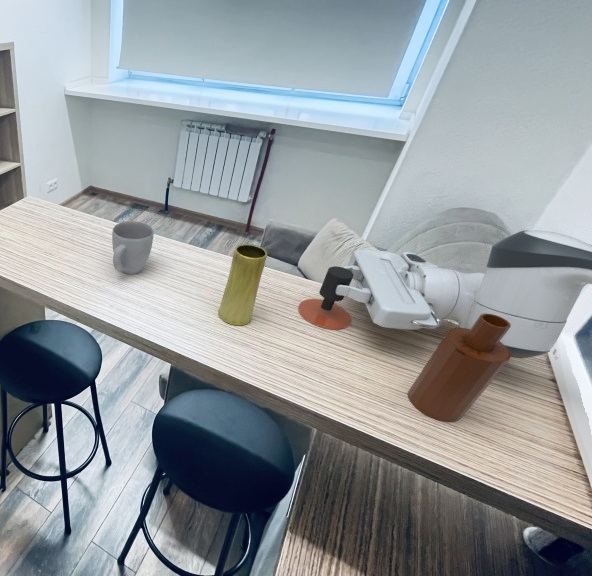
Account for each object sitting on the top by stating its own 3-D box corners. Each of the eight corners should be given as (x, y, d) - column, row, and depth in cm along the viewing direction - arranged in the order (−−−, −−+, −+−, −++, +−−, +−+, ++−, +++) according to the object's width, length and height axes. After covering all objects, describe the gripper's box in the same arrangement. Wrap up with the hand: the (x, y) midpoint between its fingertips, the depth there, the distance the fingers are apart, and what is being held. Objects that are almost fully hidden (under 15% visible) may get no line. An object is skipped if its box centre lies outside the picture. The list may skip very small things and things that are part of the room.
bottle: (472, 414, 59) (543, 330, 50) (441, 427, 57) (508, 343, 48) (427, 382, 64) (483, 300, 55) (397, 394, 62) (450, 311, 53)
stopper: (343, 311, 76) (359, 275, 71) (326, 316, 75) (341, 280, 70) (325, 299, 79) (339, 264, 75) (309, 304, 78) (323, 268, 73)
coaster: (362, 322, 76) (362, 321, 75) (325, 334, 73) (325, 333, 73) (322, 296, 83) (323, 294, 82) (287, 306, 80) (288, 304, 80)
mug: (122, 254, 98) (124, 217, 92) (156, 264, 94) (160, 226, 88) (96, 278, 90) (97, 239, 84) (132, 290, 86) (135, 250, 80)
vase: (212, 308, 80) (225, 244, 72) (240, 303, 81) (256, 240, 73) (228, 328, 75) (245, 262, 67) (257, 322, 76) (278, 257, 68)
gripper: (436, 345, 64) (339, 329, 67) (395, 276, 80) (318, 266, 83) (457, 313, 60) (353, 298, 64) (410, 247, 76) (328, 238, 80)
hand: (333, 279), depth 74 cm, fingers closed on stopper, 4 cm apart
